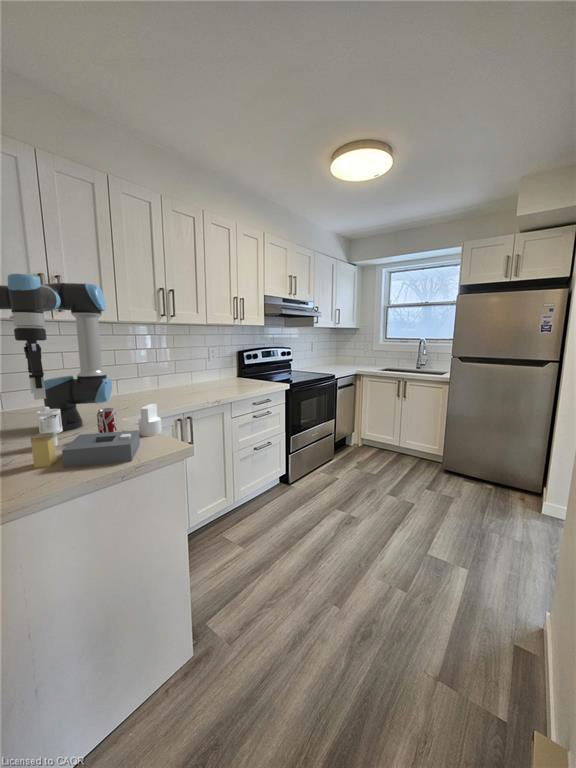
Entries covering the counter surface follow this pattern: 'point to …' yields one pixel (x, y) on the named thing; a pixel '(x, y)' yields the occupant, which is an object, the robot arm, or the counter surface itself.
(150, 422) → the cylinder with rectangular tab
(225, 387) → the counter surface
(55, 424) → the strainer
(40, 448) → the rectangular block
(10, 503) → the counter surface
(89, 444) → the socket board
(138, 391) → the counter surface
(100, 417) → the soda can
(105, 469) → the counter surface
